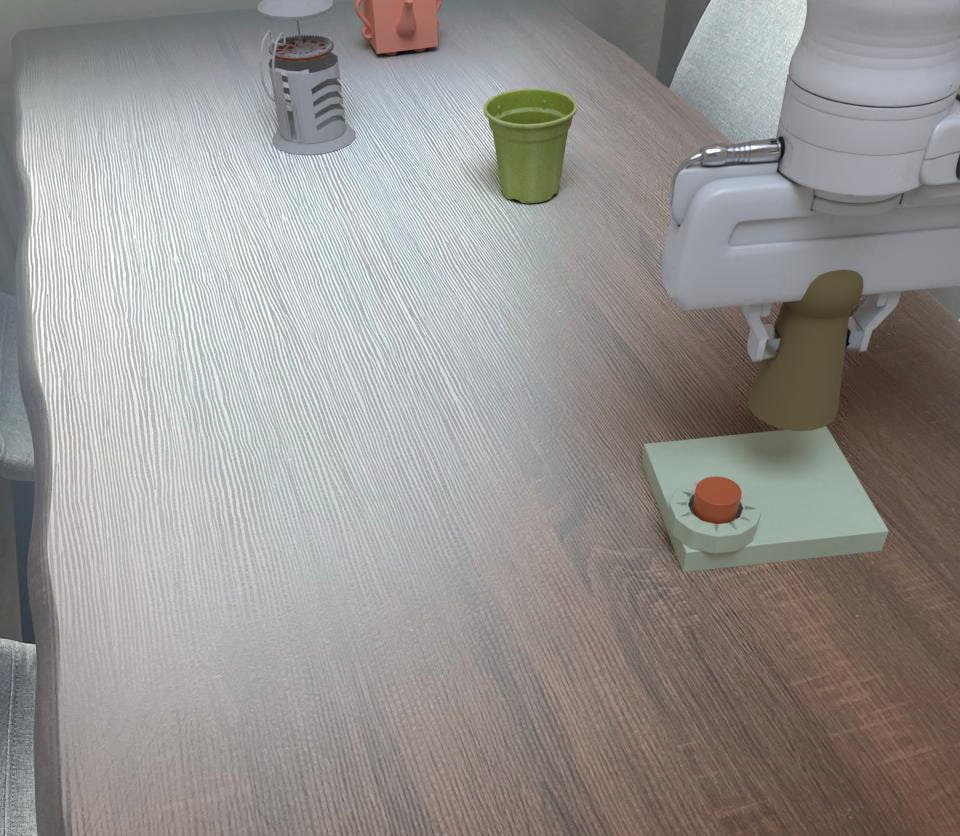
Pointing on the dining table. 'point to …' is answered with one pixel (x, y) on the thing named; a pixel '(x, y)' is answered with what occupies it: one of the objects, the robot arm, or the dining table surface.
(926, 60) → the robot arm
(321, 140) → the french press
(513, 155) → the plant pot
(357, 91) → the dining table surface
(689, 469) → the red button base
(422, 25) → the teapot
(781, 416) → the cork
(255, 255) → the dining table surface
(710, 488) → the red push button
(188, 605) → the dining table surface
